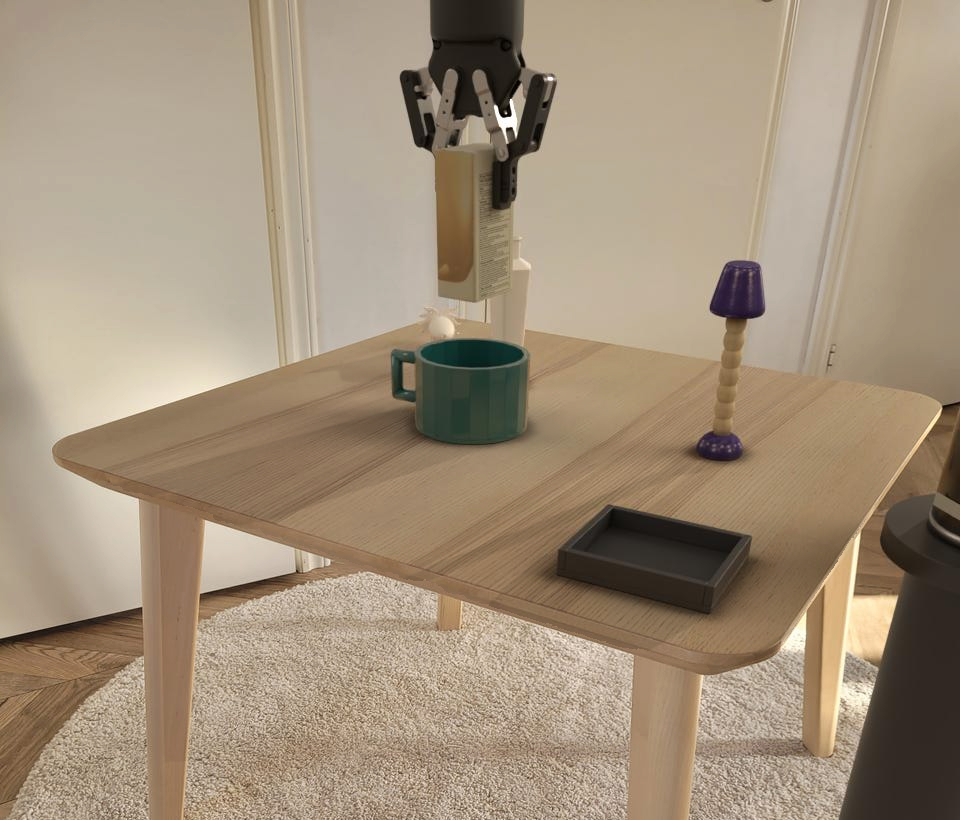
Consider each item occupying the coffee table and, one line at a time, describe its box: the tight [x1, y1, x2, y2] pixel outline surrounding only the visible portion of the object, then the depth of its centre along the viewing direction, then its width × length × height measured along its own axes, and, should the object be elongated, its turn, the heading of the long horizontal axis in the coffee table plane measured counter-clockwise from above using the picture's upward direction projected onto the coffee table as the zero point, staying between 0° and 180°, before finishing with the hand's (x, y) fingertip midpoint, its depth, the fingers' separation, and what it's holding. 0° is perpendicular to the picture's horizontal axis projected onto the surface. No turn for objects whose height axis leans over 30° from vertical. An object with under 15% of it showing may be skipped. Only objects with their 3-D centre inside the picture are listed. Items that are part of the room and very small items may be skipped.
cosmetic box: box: [434, 142, 515, 304], centre depth 88 cm, size 6×4×12 cm
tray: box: [556, 503, 753, 614], centre depth 71 cm, size 11×9×2 cm
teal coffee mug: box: [390, 337, 531, 445], centre depth 96 cm, size 14×11×7 cm
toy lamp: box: [695, 259, 766, 461], centre depth 88 cm, size 5×5×17 cm
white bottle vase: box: [489, 235, 532, 348], centre depth 105 cm, size 5×4×15 cm
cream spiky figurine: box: [416, 305, 462, 343], centre depth 117 cm, size 12×5×5 cm, turn 6°
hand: (475, 205), depth 87 cm, fingers closed on cosmetic box, 4 cm apart
